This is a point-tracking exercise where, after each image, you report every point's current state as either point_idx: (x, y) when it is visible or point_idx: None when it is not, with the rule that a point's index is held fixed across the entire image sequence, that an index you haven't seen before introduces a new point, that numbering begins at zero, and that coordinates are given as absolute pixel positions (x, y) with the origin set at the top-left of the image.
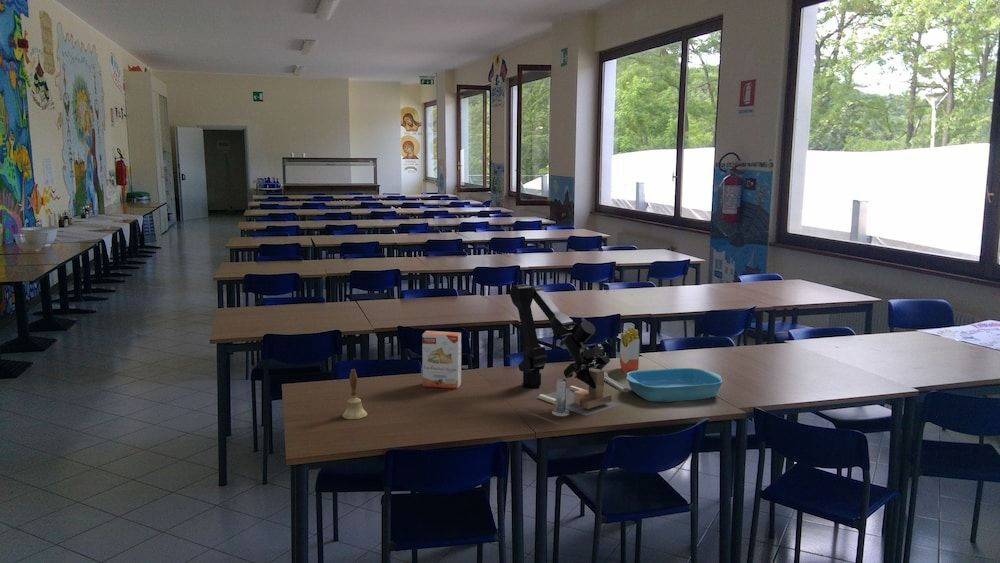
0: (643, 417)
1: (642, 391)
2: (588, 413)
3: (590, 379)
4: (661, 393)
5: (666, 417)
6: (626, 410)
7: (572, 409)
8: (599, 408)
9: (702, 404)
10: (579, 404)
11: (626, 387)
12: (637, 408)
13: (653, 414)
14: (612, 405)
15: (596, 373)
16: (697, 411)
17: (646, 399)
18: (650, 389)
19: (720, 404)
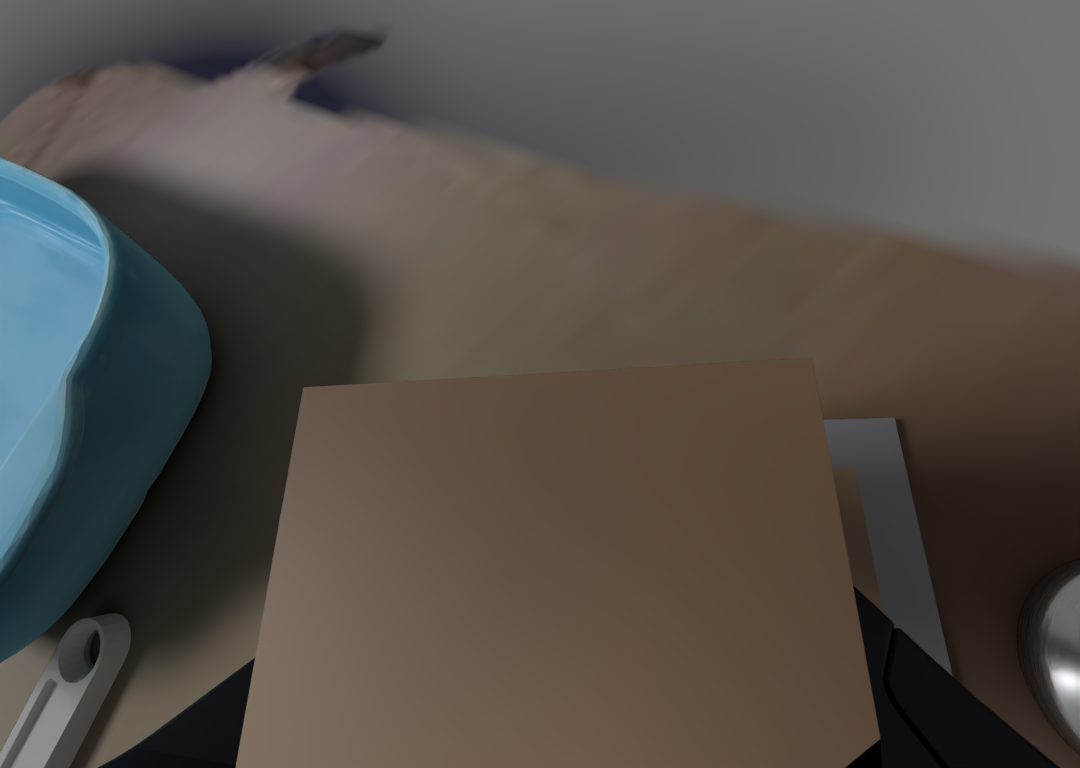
0: (489, 180)
1: (158, 371)
2: None
3: (880, 610)
4: (138, 245)
5: (391, 125)
6: (461, 334)
7: None
8: None
9: (110, 184)
10: None
11: (38, 686)
12: (373, 321)
13: (399, 191)
14: None
15: (802, 410)
16: (213, 125)
17: (207, 376)
18: (138, 272)
19: (75, 148)
